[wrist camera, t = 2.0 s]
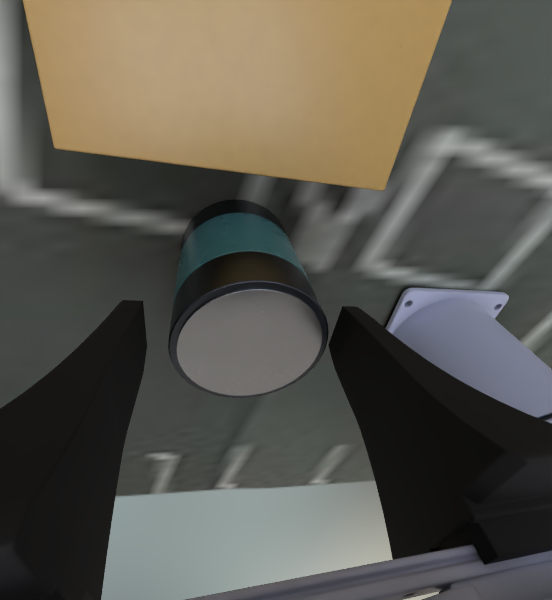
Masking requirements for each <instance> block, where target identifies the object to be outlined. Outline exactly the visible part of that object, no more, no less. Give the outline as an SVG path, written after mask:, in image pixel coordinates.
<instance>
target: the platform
mask: <svg viewBox="0 0 552 600" xmlns="http://www.w3.org/2000/svg"><path fill="white" fill-rule="evenodd" d="M451 2H452V0H23V4H24V9H25V13H26V18H27V23H28V27H29V32H30V37H31V41H32V46H33V51H34V55H35V60H36V65H37V69H38V74H39V79H40V83H41V88H42V93H43V97H44V102H45V107H46V111H47V116H48V121H49V125H50V130H51V135H52V139H53V144H54V147H55V148H56V149H61V150H69V151H77V152H84V153H92V154H100V155H108V156H115V157H123V158H131V159H139V160H146V161H154V162H162V163H170V164H177V165H185V166H193V167H201V168H208V169H216V170H224V171H232V172H239V173H247V174H255V175H263V176H270V177H278V178H286V179H294V180H301V181H309V182H317V183H324V184H332V185H340V186H348V187H355V188H363V189H371V190H379V191H384V189H385V187H386V184H387V181H388V178H389V176H390V173H391V170H392V167H393V164H394V162H395V159H396V156H397V153H398V150H399V148H400V145H401V142H402V139H403V136H404V134H405V131H406V128H407V125H408V122H409V120H410V117H411V114H412V111H413V108H414V106H415V103H416V100H417V97H418V95H419V92H420V89H421V86H422V83H423V81H424V78H425V75H426V72H427V69H428V67H429V64H430V61H431V58H432V55H433V53H434V50H435V47H436V44H437V41H438V39H439V36H440V33H441V30H442V27H443V25H444V22H445V19H446V16H447V13H448V11H449V8H450V5H451Z"/></svg>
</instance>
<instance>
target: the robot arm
mask: <svg viewBox="0 0 552 600" xmlns="http://www.w3.org/2000/svg"><path fill="white" fill-rule="evenodd" d="M508 299H509V296H508V295H507V294H506V293H504V292H494V291H473V290H452V289H431V288H408V289H406V290H405V291H404V292H403V293H402V295H401V297H400V299H399V301H398V303H397V305H396V307H395V310H394V312H393V314H392V316H391V318H390V320H389V322H388V324H387V326H386V328H384V327H383V326H382V325H380V324H379V323H378V322H377V321H375V320H374V319H373V318H371V317H370V316H369V315H368V314H366V313H365V312H364V311H362V310H361V309H359V308H358V307H348V306H342V309H341V312H340V315H339V317H338V320H337V323H336V326H335V329H334V331H333V334H332V337H331V340H330V343H329V349H330V353H331V357H332V360H333V364H334V367H335V370H336V372H337V375H338V377H339V380H340V382H341V384H342V387H343V389H344V391H345V394H346V396H347V398H348V401H349V403H350V405H351V408H352V410H353V412H354V415H355V417H356V419H357V422H358V425H359V427H360V430H361V433H362V436H363V440H364V443H365V446H366V449H367V452H368V456H369V459H370V463H371V466H372V470H373V474H374V477H375V481H376V485H377V489H378V493H379V497H380V501H381V505H382V509H383V513H384V518H385V523H386V528H387V532H388V537H389V542H390V547H391V552H392V558H393V560H389V561H384V562H378V563H374V564H368V565H363V566H358V567H353V568H347V569H342V570H337V571H332V572H327V573H321V574H316V575H311V576H306V577H301V578H295V579H290V580H285V581H280V582H275V583H270V584H264V585H259V586H254V587H248V588H243V589H238V590H233V591H228V592H223V593H218V594H212V595H207V596H202V597H196V598H191V599H186V600H403V599H407V598H411V597H416V596H420V595H425V594H429V593H433V592H438V591H439V594H437V595H434V596H431V597H428V598H425V599H422V600H552V369H551V368H550V367H548V366H547V365H546V364H545V363H544V362H543V361H542V360H540V359H539V358H538V357H537V356H536V355H535V354H534V353H532V352H531V351H530V350H529V349H528V348H527V347H526V346H525V345H523V344H522V343H521V342H520V341H519V340H518V339H517V338H515V337H514V336H513V335H512V334H511V333H510V332H509V331H507V330H506V329H505V328H504V327H503V326H502V325H501V324H499V323H498V322H497V321H496V320H495V318H496V316H497V315H498V314H499V312H500V311H501V309H502V308H503V307H504V305H505V304H506V302H507V301H508ZM407 301H408V302H407ZM406 302H407V303H406ZM146 349H147V341H146V330H145V319H144V308H143V301H130V300H123V301H122V302H120V303H119V304H118V305H117V307H116V308H115V309H114V310H113V311H112V312H111V313H110V315H109V316H108V317H107V318H106V319H105V320H104V321H103V322H102V323H101V324H100V326H99V327H98V328H97V329H96V330H95V331H94V332H93V333H92V334H91V335H90V336H89V337H88V338H87V339H86V340H85V341H84V342H83V343H82V344H81V345H80V346H79V347H78V348H77V349H75V350H74V351H73V352H72V353H71V354H70V355H69V356H68V357H67V358H66V359H64V360H63V361H62V362H61V363H60V364H59V365H58V366H57V367H55V368H54V369H53V370H52V371H51V372H49V373H48V374H47V375H46V376H45V377H43V378H42V379H41V380H40V381H38V382H37V383H36V384H34V385H33V386H32V387H31V388H29V389H28V390H27V391H25V392H24V393H22V394H21V395H20V396H18V397H17V398H15V399H14V400H12V401H11V402H10V403H8V404H7V405H5V406H4V407H2V408H1V409H0V600H101V595H102V587H103V579H104V572H105V564H106V556H107V549H108V542H109V535H110V528H111V521H112V514H113V508H114V501H115V495H116V489H117V482H118V476H119V470H120V464H121V458H122V453H123V447H124V443H125V438H126V434H127V430H128V427H129V423H130V419H131V416H132V412H133V408H134V405H135V401H136V398H137V394H138V390H139V386H140V383H141V379H142V375H143V371H144V364H145V357H146Z"/></svg>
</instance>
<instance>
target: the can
mask: <svg viewBox="0 0 552 600" xmlns="http://www.w3.org/2000/svg"><path fill="white" fill-rule="evenodd" d="M327 340H328V324H327V320H326V316H325V314H324V312H323V310H322V308H321V306H320V304H319V302H318V300H317V297H316V295H315V293H314V291H313V289H312V286H311V284H310V281H309V279H308V277H307V275H306V273H305V271H304V269H303V267H302V265H301V263H300V261H299V258H298V256H297V254H296V252H295V250H294V248H293V246H292V244H291V242H290V240H289V238H288V236H287V234H286V232H285V230H284V228H283V226H282V224H281V223H280V221H279V220H278V219H277V218H276V217H275V215H273V214H272V213H271V212H270V211H269V210H267V209H266V208H264V207H262V206H260V205H258V204H255V203H252V202H248V201H243V200H229V201H223V202H219V203H216V204H213V205H211V206H209V207H207V208H205V209H204V210H202V211H201V212H200V213H199V214H197V215H196V216H195V217H194V218H193V220H192V221H191V222H190V224H189V225H188V227H187V229H186V231H185V233H184V236H183V241H182V247H181V254H180V258H179V265H178V273H177V280H176V287H175V294H174V301H173V313H172V320H171V327H170V334H169V345H168V348H169V355H170V358H171V361H172V363H173V365H174V367H175V369H176V370H177V372H178V373H179V374H180V376H181V377H182V378H184V379H185V380H186V381H187V382H188V383H190V384H191V385H193V386H194V387H196V388H198V389H200V390H202V391H205V392H207V393H210V394H214V395H218V396H223V397H233V398H245V397H255V396H261V395H265V394H269V393H272V392H275V391H278V390H281V389H283V388H285V387H287V386H289V385H291V384H293V383H295V382H296V381H298V380H299V379H301V378H302V377H303V376H305V375H306V374H307V373H308V372H309V371H310V370H311V369H312V368H313V367H314V366H315V365H316V363H317V362H318V361H319V359H320V358H321V356H322V354H323V352H324V350H325V348H326V344H327Z"/></svg>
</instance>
